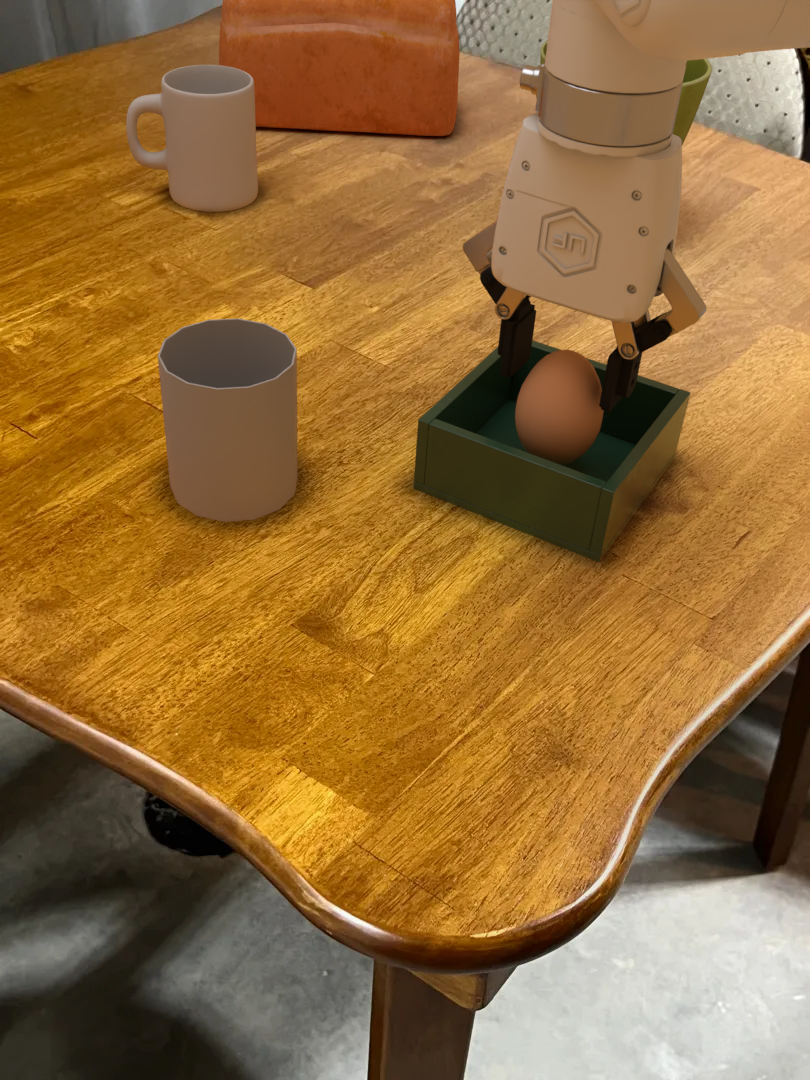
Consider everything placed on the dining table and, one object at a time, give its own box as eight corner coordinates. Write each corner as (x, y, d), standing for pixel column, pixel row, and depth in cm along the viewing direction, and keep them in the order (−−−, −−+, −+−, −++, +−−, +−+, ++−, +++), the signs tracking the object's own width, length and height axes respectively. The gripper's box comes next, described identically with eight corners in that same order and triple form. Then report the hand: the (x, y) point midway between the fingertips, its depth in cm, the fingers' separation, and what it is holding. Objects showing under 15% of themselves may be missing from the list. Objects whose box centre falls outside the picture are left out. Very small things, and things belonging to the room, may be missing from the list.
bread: (230, 87, 136) (223, -61, 125) (452, 99, 136) (464, -47, 126) (215, 130, 125) (207, -27, 115) (456, 143, 126) (469, -12, 116)
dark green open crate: (674, 459, 82) (691, 392, 78) (599, 563, 73) (613, 492, 69) (503, 398, 87) (512, 332, 83) (412, 488, 78) (417, 419, 74)
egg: (522, 488, 76) (538, 379, 71) (499, 439, 80) (513, 333, 75) (605, 481, 77) (626, 374, 72) (578, 433, 81) (597, 328, 76)
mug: (257, 176, 116) (253, 64, 109) (259, 212, 110) (256, 95, 103) (135, 177, 114) (123, 62, 107) (130, 213, 108) (118, 94, 101)
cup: (145, 482, 77) (130, 350, 70) (236, 432, 82) (230, 305, 75) (232, 539, 73) (225, 405, 66) (323, 483, 78) (324, 353, 71)
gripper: (438, 90, 64) (419, 368, 76) (738, 164, 58) (668, 456, 69) (499, 57, 69) (472, 323, 81) (781, 122, 63) (709, 400, 74)
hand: (563, 382), depth 75 cm, fingers open, 6 cm apart
